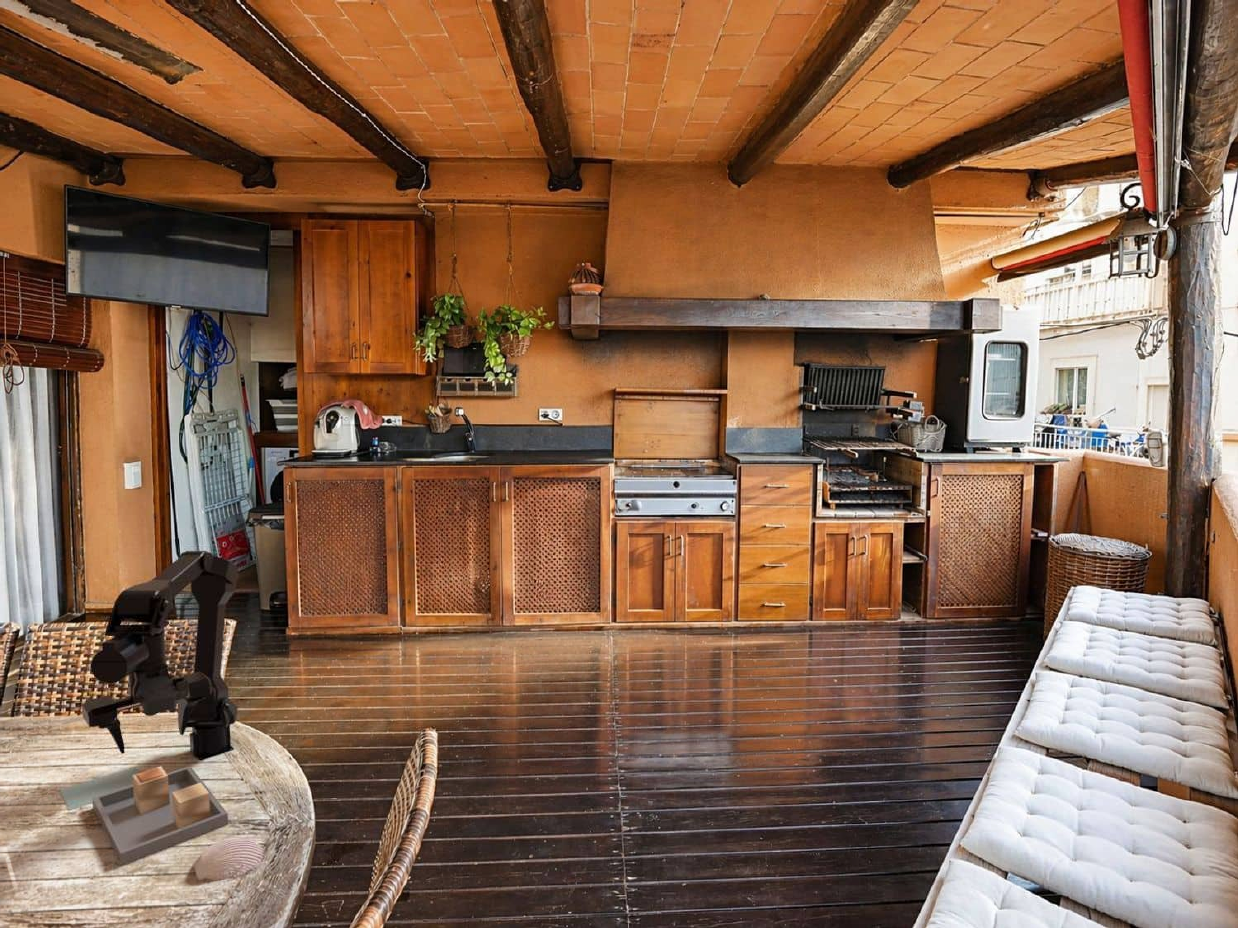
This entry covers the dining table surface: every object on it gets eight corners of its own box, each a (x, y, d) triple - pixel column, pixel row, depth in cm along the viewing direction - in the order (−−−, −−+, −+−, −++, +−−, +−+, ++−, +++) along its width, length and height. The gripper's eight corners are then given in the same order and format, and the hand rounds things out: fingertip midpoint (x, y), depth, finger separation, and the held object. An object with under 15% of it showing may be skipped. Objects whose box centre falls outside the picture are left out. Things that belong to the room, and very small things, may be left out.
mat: (135, 768, 145) (135, 766, 145) (147, 786, 139) (147, 784, 139) (60, 792, 137) (59, 789, 137) (69, 812, 131) (68, 810, 130)
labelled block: (162, 794, 136) (161, 764, 135) (169, 804, 133) (167, 774, 132) (134, 803, 133) (132, 774, 132) (140, 814, 129) (138, 783, 129)
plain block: (202, 811, 131) (200, 782, 130) (210, 822, 127) (208, 792, 127) (173, 822, 127) (171, 792, 127) (181, 833, 124) (179, 803, 124)
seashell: (172, 858, 114) (227, 812, 123) (182, 885, 116) (236, 838, 125) (217, 875, 110) (271, 826, 119) (226, 904, 112) (279, 853, 120)
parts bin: (190, 777, 142) (190, 765, 142) (228, 826, 127) (227, 813, 127) (93, 810, 131) (92, 797, 131) (121, 868, 116) (120, 853, 116)
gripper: (93, 689, 117) (101, 781, 119) (220, 657, 130) (225, 740, 132) (77, 669, 124) (85, 756, 126) (199, 640, 138) (204, 719, 140)
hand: (152, 743), depth 131 cm, fingers open, 9 cm apart
